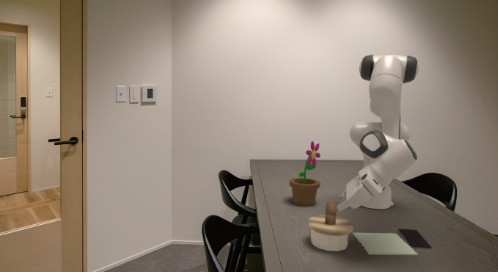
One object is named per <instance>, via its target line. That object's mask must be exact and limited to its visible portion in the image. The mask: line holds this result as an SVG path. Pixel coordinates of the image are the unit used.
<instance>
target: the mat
mask: <svg viewBox="0 0 498 272" xmlns="http://www.w3.org/2000/svg"><path fill="white" fill-rule="evenodd" d="M352 235H353V236H354V237H355V238H357V239H356V240H357V242H358V243H361V244H360V245H361V246H362V248H363V247H364V248H363V249H364V250H365V252H366V253H367V254H368V255H372V256H373V255H374V256H375V255H376V256H417V257H418V255H419V254H418V252H416V251H415V250H414V248H411V247H410V246H409V245H408V244H407V242H406V241H405V240H404V239H403V238H402V237H400V236H399V235H398V234H397V233H393V232H386V233H385V232H352Z"/></svg>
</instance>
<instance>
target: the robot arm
mask: <svg viewBox="0 0 498 272" xmlns="http://www.w3.org/2000/svg"><path fill="white" fill-rule="evenodd" d="M361 59H362V60H361V61H360V63H359V66H358V71H359V75H360V78H361V79H362V80H364V81H368V82H369V85H368V94H369V99H370V101H369V110H370V112H371V113H372V114H373V115H375V116H377V117H378V118H380V121H361V122H355V123H354V124H353V125H352V126H351V128H350V130H349V138H350V139H351V142H352V143H354V144H355V145H356V146H357V147H358V148H359V150H360V152H361V153H362V157H363V167H362V168H361V169H360V170H359V171H358V175H356V176H355V177H354V178H352V179H351V180H350V181H349V182H348V183H347V184H346V187H345V190H344V191H342V193H341V194H340V195H338V196H337V200H338V201H339V204H337V210H338V211H339V212H343V210H345V209H347V208H349V207H350V208H352V210H354V209H355V210H356V209H357V208H359V207H365V208H369V209H375V210H387V209H389V208H390V207H392V206H394V204H395V203H394V202H393V201H392V188H391V186H389V185H390V184H391V182H392V181H393V180H395V179H396V178H399V177H400V176H402V175H403V174H404V173H406V172H407V171H408V170H410V169H411V167H412V166H413V165H414V164H415V163H416V162H417V160H418V155H417V153H416V151H415V149H414V148H413V147H412V145H411V144H410V142H409V139H410V130H409V128H408V127H407V125H406V124H405V123H403V122H402V121H401V117H402V116H401V103H402V102H401V101H402V99H401V98H402V89H403V88H402V87H403V84H408V83H411V82H413V81H414V80H415V79H416V77H417V76H418V73H419V69H420V68H419V63H418V59H417V58H416V57H415V56H411V55H403V54H402V55H400V54H376V55H375V54H369V55H365V56H363V58H361Z"/></svg>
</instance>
